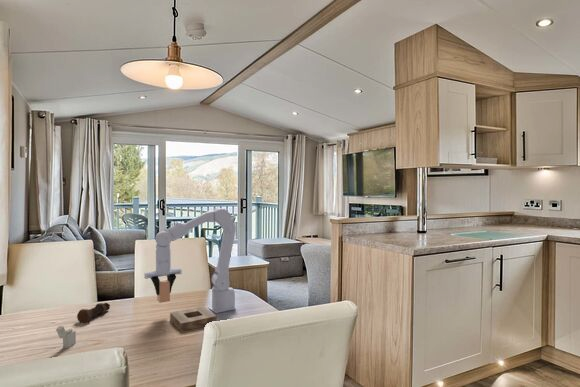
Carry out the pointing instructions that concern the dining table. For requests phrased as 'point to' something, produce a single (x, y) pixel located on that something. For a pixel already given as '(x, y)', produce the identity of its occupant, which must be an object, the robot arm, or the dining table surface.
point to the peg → (164, 291)
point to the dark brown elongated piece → (92, 312)
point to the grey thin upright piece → (67, 336)
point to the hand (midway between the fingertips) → (163, 293)
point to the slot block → (192, 318)
